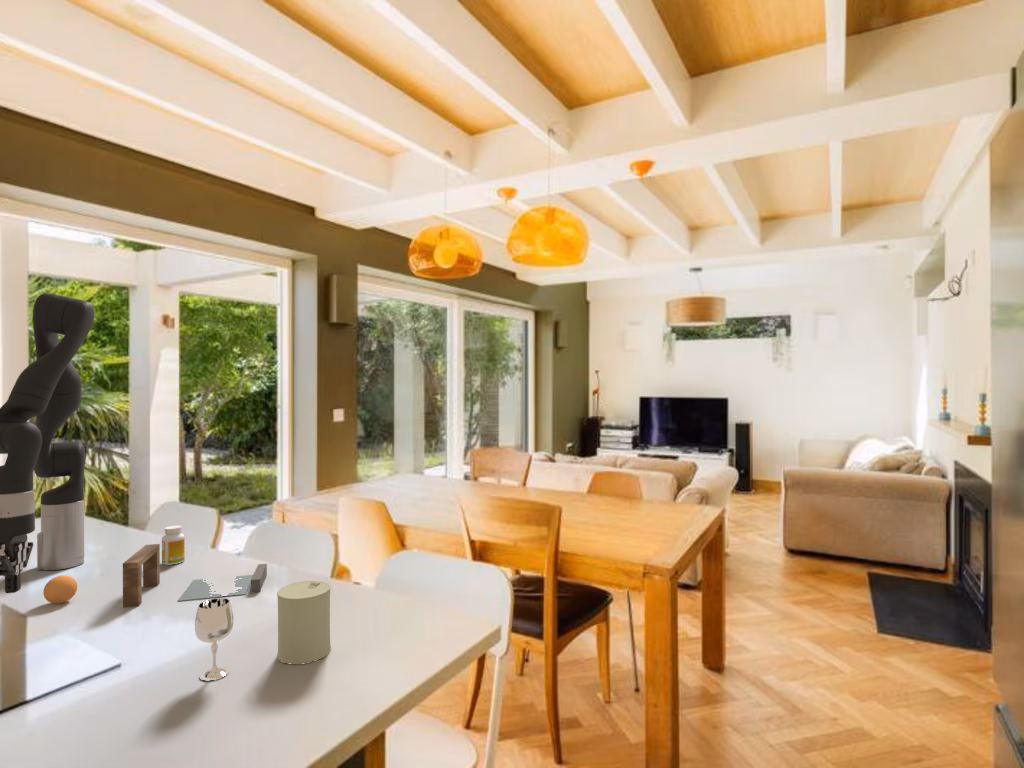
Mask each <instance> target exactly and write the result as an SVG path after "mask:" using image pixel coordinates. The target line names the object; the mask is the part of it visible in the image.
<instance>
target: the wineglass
mask: <svg viewBox="0 0 1024 768" xmlns="http://www.w3.org/2000/svg"><path fill="white" fill-rule="evenodd" d="M232 608H233V607H232V605H231V602H230V599H228V598H226V597H218V598H210V599H206V600H205V601H203V602H200V603H199V604H198V607H197V610H196V615H195V618H194V632H195V635H196V638H197V639H198V640H199V641H201V642H203V643H207V644H208V643H209V644H211V646H210V651H211V654H212V667H211V668H210V669H211V670H210V669H208V670H209V671H207V670H206V671H207V672H206V673H205V674H204V675H205V678H210V679H211V678H212V679H213V678H214V679H215V678H216V679H217V678H221V677H224V676H225V677H227V676H226V671H227V670H225V669H222V668H219V667H217V652H218V650H219V649H218V648H219V646H218V643H217V642H220V641H222V640H224V639H226V638H227V637H228V636H229V635H230V634H231V632H232V631H233V627H234V612H233V609H232ZM225 677H224V678H225ZM221 679H222V678H221Z"/></svg>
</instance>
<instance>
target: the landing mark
mask: <svg viewBox="0 0 1024 768" xmlns="http://www.w3.org/2000/svg"><path fill="white" fill-rule="evenodd" d="M235 576H236V578H235V579H238V580H236V581H234V582H235V583H236V584H235V587H242V589H238V590H236V591H238V592H235V593H229V594H228V595H227V596H228V597H234V596H233V595H239V596H246V595H247V593H248V591H247V590H249V588H250V587H251V579H252V576H253V574H245V575H235ZM239 578H242V579H239ZM204 581H206V580H204ZM211 584H212V583H211ZM208 585H209V584H207V583H206V582H203V578H201V579H193V580H192V581H191V582H190V583H189V585H188V587H186V589H185V591H184V592H183V593H182V594H181V596H180V597H179V598H178V600H177V602H187V601H196V600H205V599H204V598H208V599H214V598H213V597H218V598H222V597H221V596H222V595H221V594H211V593H209V592H212V591H209V590H211V589H210V587H211V586H208ZM212 586H214V585H212ZM214 592H216V591H214ZM246 592H247V593H246ZM210 595H212V596H210Z"/></svg>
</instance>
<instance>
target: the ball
mask: <svg viewBox="0 0 1024 768" xmlns="http://www.w3.org/2000/svg"><path fill="white" fill-rule="evenodd" d="M77 591H78V582H77V580H76V578H74V577H73V576H71V575H66V574H63V575H57V576H55V577H52V578H51V579H50V580H48V582H47V583H46V584H45V586H44V588H43V592H42V593H43V597H44V599H45V600H46V601H47V602H49V603H52V604H57V605H58V604H63V603H66V602H68V601H70V600H71V599H72V598H73V597H74V596H75V595H76V593H77Z"/></svg>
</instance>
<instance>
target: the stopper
mask: <svg viewBox="0 0 1024 768" xmlns="http://www.w3.org/2000/svg"><path fill="white" fill-rule="evenodd" d="M267 564H268V563H260V564H257V566H256V568H255V570H254V573H253V574H252V575H253V576H252V579H251V584H250V593H251V594H252V593H253V592H254V593H261V591H262V589H261V588H263V585H264V584H265V580H266V578H267V576H268V575H267V573H268V572H267V569H268V565H267ZM263 583H264V584H263Z"/></svg>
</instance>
